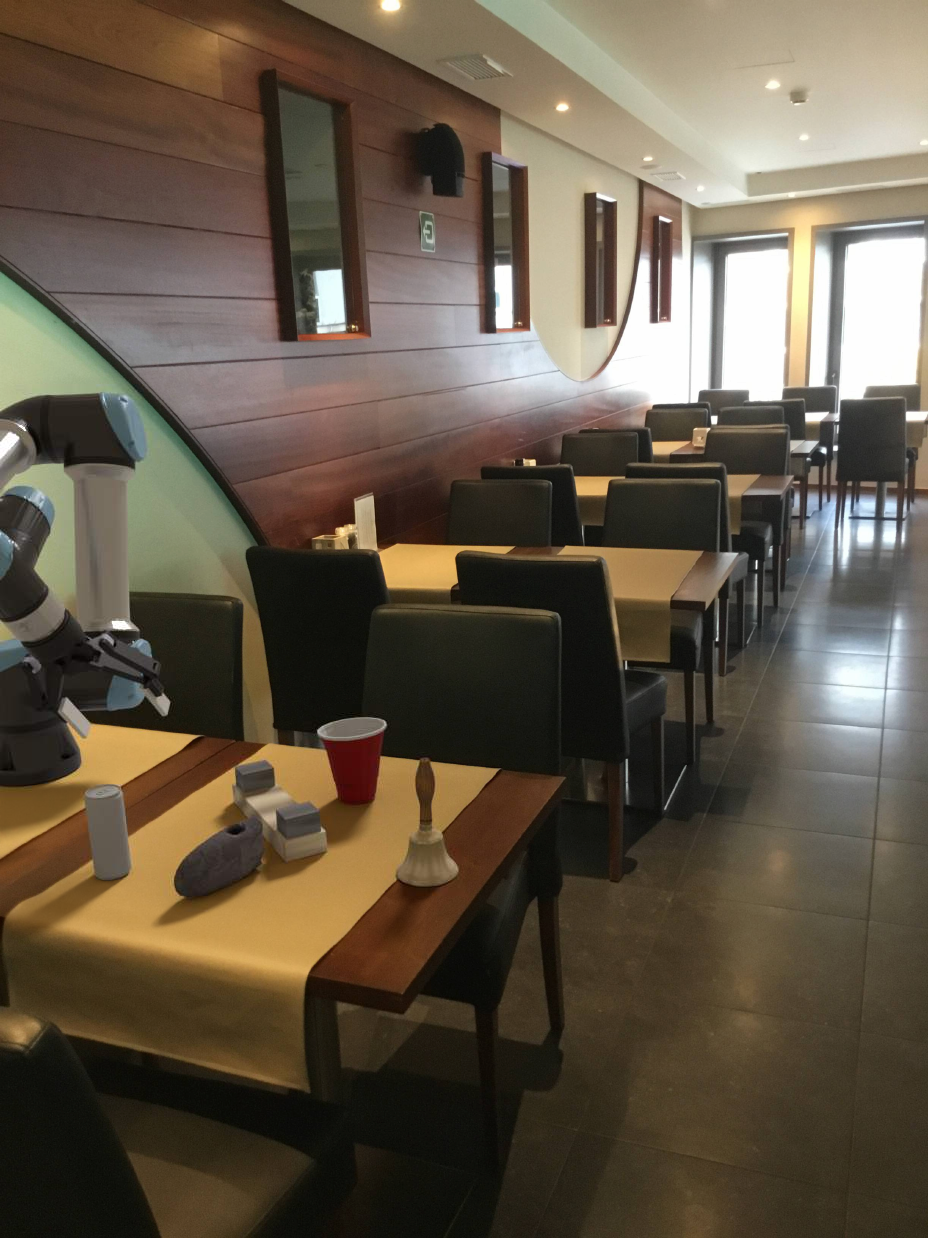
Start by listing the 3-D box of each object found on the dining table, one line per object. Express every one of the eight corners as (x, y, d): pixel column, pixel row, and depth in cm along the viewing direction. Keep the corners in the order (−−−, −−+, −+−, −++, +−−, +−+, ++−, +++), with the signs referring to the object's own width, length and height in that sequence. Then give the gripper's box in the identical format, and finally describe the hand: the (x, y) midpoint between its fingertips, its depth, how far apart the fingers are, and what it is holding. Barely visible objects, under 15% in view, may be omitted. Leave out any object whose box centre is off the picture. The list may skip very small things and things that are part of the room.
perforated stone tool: (189, 913, 125) (183, 862, 124) (163, 901, 128) (157, 851, 127) (279, 866, 137) (275, 818, 135) (254, 856, 140) (250, 809, 138)
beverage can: (139, 869, 137) (129, 787, 134) (112, 885, 133) (102, 800, 130) (114, 862, 139) (103, 781, 136) (86, 877, 135) (75, 794, 132)
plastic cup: (361, 777, 166) (357, 708, 163) (404, 795, 158) (401, 723, 155) (307, 798, 158) (302, 726, 155) (350, 817, 151) (345, 742, 148)
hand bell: (435, 851, 139) (430, 743, 135) (471, 874, 133) (467, 760, 129) (384, 870, 134) (378, 758, 131) (419, 894, 128) (413, 777, 124)
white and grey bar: (233, 801, 158) (230, 766, 156) (270, 793, 161) (267, 758, 159) (286, 862, 137) (283, 821, 136) (327, 851, 140) (324, 811, 139)
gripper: (-44, 667, 137) (48, 759, 151) (117, 618, 133) (196, 718, 147) (-27, 629, 143) (60, 722, 157) (128, 581, 138) (204, 681, 152)
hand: (126, 720), depth 152 cm, fingers open, 13 cm apart
